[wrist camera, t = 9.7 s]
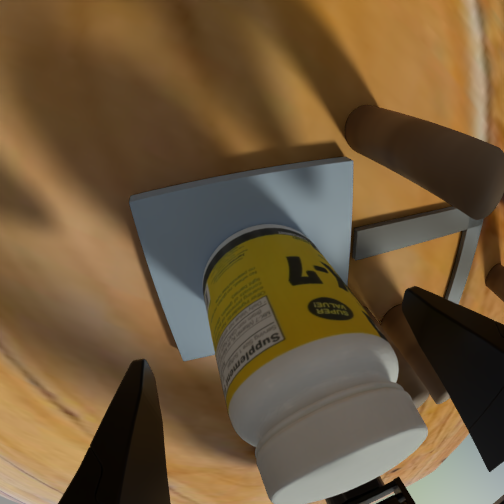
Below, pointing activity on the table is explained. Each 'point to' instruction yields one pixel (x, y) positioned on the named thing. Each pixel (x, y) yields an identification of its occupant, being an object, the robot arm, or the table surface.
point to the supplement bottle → (304, 368)
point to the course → (427, 215)
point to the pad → (236, 230)
